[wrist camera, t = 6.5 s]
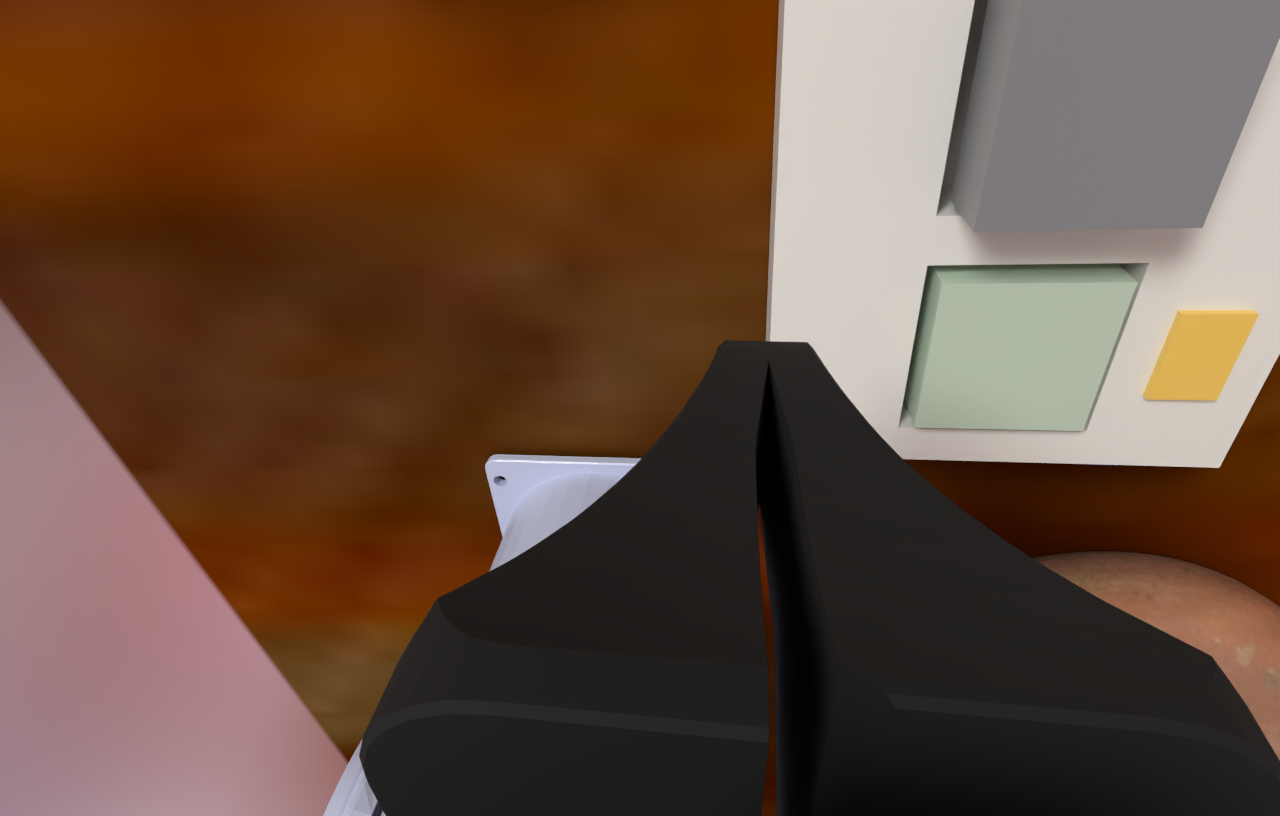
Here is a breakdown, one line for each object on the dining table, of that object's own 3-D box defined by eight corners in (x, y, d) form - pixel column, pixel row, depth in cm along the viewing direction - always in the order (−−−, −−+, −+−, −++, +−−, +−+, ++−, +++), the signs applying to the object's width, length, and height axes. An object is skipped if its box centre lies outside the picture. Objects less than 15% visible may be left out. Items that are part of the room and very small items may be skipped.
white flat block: (1164, 404, 21) (1223, 472, 18) (763, 398, 23) (765, 459, 20) (1634, -660, 10) (1936, -857, 8) (799, -515, 12) (812, -636, 9)
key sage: (1055, 388, 20) (1083, 431, 18) (900, 387, 20) (914, 427, 19) (1101, 248, 17) (1137, 282, 16) (924, 250, 18) (941, 284, 16)
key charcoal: (1153, 194, 15) (1202, 228, 13) (951, 199, 16) (973, 231, 14) (1234, -34, 13) (1305, -27, 11) (991, -17, 13) (1025, -9, 12)
